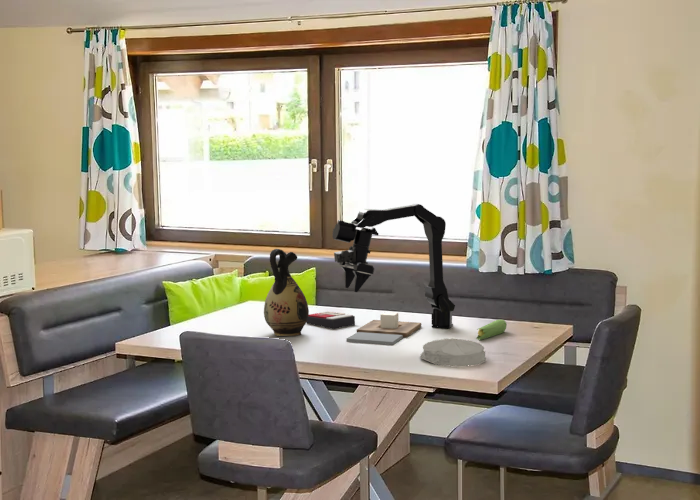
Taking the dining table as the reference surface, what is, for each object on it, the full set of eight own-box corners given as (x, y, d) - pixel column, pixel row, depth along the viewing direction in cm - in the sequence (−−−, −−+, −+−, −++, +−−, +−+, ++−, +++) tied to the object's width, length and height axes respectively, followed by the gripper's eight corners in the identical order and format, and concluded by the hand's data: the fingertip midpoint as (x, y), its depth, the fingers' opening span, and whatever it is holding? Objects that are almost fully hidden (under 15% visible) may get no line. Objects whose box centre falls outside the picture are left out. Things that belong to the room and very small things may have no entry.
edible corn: (511, 320, 299) (500, 315, 301) (482, 331, 283) (470, 326, 286) (508, 333, 300) (496, 328, 303) (478, 346, 285) (467, 340, 287)
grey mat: (402, 338, 291) (402, 335, 291) (392, 344, 281) (392, 341, 281) (357, 334, 297) (357, 331, 297) (346, 341, 287) (346, 338, 286)
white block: (398, 329, 305) (398, 312, 305) (394, 332, 301) (394, 315, 300) (385, 328, 307) (384, 312, 306) (380, 331, 302) (380, 314, 302)
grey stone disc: (488, 354, 270) (488, 332, 269) (484, 369, 250) (484, 345, 250) (425, 352, 274) (424, 331, 274) (415, 366, 255) (415, 343, 254)
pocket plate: (421, 326, 309) (421, 322, 309) (406, 337, 292) (406, 332, 292) (373, 323, 315) (373, 319, 315) (356, 333, 299) (356, 329, 298)
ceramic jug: (283, 327, 310) (282, 244, 306) (317, 332, 301) (316, 247, 297) (251, 336, 296) (249, 249, 292) (286, 341, 287) (285, 252, 283)
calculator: (328, 310, 325) (355, 313, 314) (328, 321, 325) (355, 325, 314) (305, 314, 318) (332, 317, 306) (306, 325, 318) (332, 329, 307)
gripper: (330, 238, 302) (320, 281, 302) (348, 243, 284) (338, 289, 285) (360, 244, 305) (350, 287, 306) (379, 250, 288) (368, 295, 288)
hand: (351, 289), depth 296 cm, fingers open, 9 cm apart
